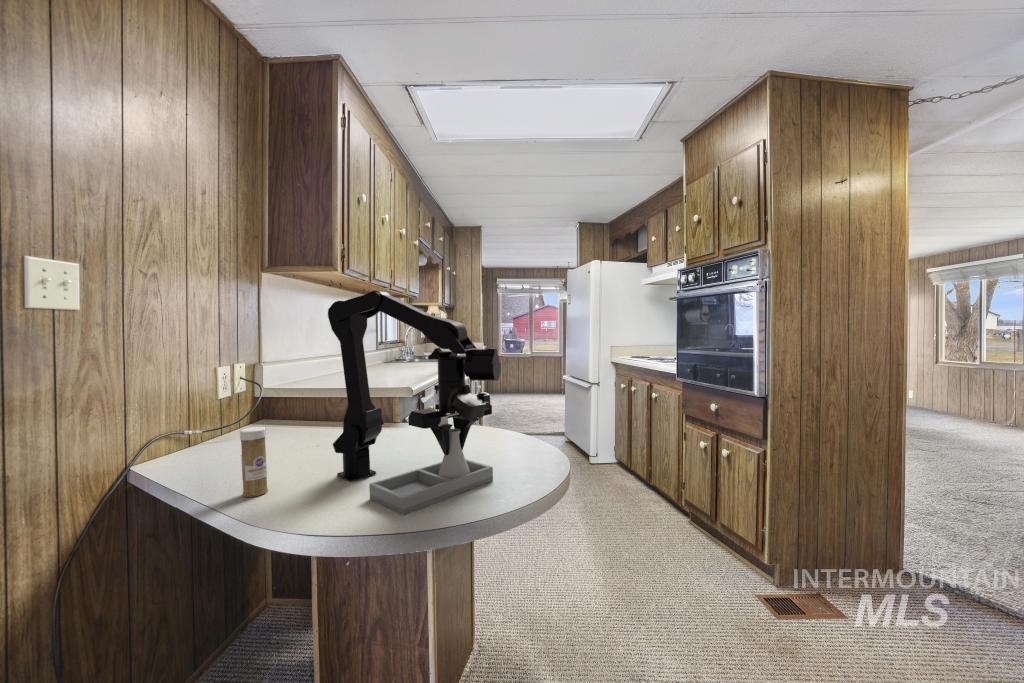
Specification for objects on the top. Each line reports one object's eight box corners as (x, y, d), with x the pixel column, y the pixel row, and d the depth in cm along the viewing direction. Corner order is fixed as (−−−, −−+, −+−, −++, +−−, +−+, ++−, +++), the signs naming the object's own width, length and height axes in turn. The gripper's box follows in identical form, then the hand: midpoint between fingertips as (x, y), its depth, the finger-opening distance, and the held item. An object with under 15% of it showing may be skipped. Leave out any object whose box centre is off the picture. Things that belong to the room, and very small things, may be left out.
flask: (475, 471, 96) (474, 426, 96) (465, 483, 89) (464, 434, 89) (443, 470, 98) (442, 425, 97) (432, 481, 91) (430, 433, 90)
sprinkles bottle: (254, 498, 87) (251, 431, 86) (237, 496, 88) (234, 430, 88) (273, 490, 91) (270, 426, 91) (256, 488, 93) (253, 425, 92)
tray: (369, 498, 85) (369, 483, 85) (458, 469, 102) (457, 456, 102) (403, 515, 78) (402, 498, 77) (492, 480, 94) (492, 466, 94)
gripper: (440, 388, 81) (442, 472, 81) (509, 378, 94) (510, 450, 95) (405, 384, 88) (407, 460, 89) (474, 375, 102) (475, 441, 102)
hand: (453, 452), depth 93 cm, fingers closed on flask, 3 cm apart
